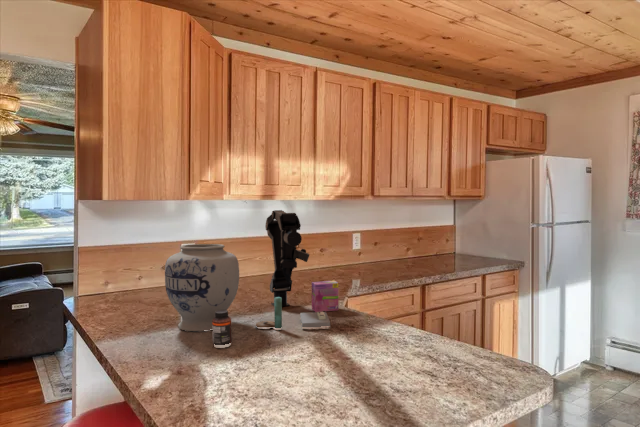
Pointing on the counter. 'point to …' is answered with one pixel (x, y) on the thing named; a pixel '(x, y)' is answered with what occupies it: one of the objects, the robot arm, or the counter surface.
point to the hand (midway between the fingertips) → (288, 282)
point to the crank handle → (277, 315)
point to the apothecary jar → (201, 283)
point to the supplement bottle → (222, 328)
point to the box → (325, 296)
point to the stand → (314, 319)
